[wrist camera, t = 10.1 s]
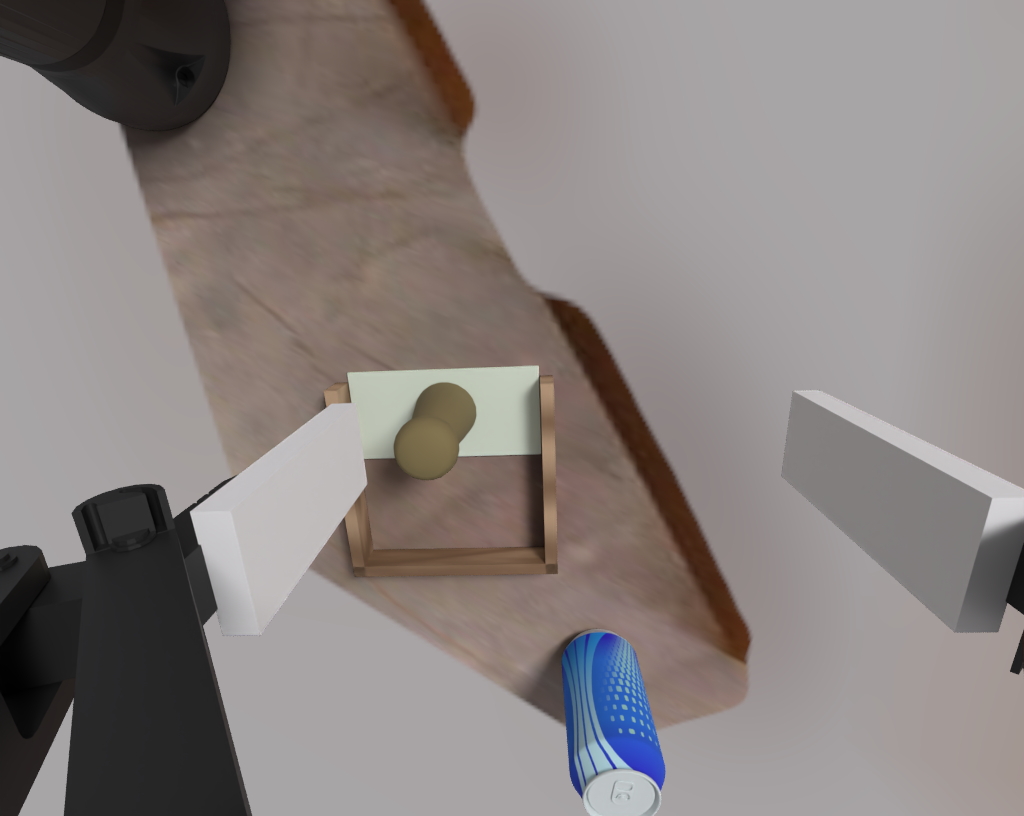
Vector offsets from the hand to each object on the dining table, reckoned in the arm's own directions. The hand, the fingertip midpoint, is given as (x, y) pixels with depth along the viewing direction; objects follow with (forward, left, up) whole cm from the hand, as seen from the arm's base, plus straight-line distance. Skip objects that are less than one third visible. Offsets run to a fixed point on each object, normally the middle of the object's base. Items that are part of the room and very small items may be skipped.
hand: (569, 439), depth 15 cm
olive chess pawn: (+9, -10, -32) cm, 34 cm away
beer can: (+39, +5, -32) cm, 51 cm away
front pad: (+9, -10, -32) cm, 34 cm away
